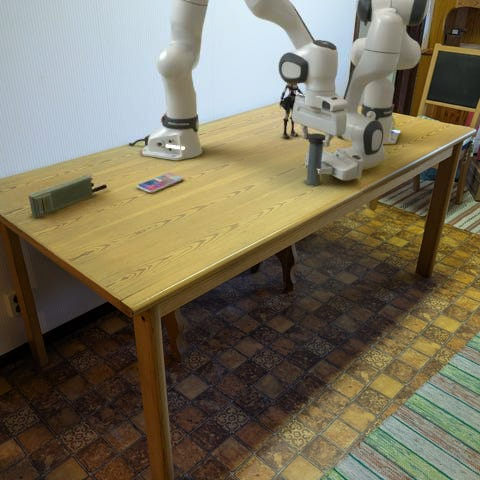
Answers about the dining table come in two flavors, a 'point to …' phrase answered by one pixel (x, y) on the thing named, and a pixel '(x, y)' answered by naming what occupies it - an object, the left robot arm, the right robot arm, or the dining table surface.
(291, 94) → the figurine
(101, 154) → the dining table surface
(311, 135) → the lid
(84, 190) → the handheld radio
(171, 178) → the smartphone
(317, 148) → the jar
